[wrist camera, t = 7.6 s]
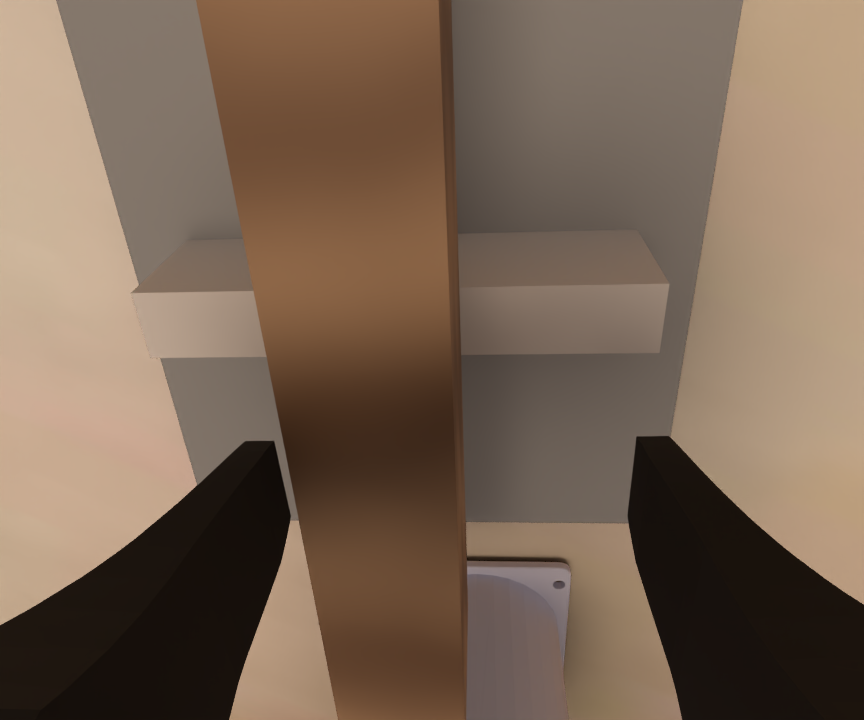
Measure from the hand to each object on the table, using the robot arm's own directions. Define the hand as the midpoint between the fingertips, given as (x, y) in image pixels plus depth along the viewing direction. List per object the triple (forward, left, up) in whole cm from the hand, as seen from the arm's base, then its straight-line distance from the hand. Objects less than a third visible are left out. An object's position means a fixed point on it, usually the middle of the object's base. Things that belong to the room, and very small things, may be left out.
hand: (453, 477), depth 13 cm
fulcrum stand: (+1, +2, -10) cm, 10 cm away
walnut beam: (+1, +2, -5) cm, 6 cm away
